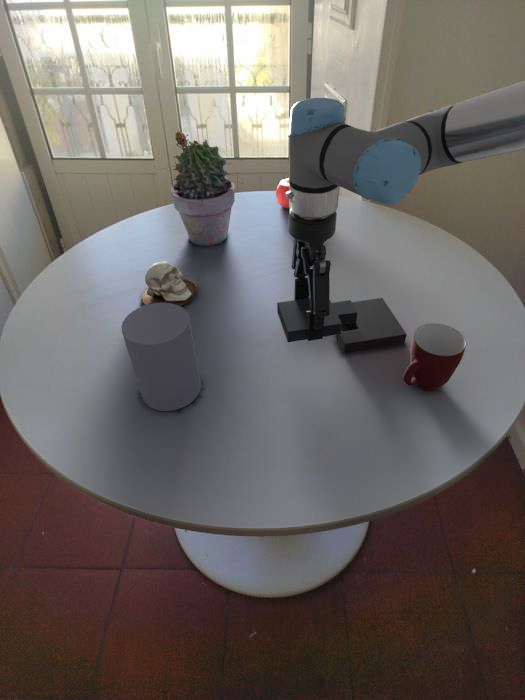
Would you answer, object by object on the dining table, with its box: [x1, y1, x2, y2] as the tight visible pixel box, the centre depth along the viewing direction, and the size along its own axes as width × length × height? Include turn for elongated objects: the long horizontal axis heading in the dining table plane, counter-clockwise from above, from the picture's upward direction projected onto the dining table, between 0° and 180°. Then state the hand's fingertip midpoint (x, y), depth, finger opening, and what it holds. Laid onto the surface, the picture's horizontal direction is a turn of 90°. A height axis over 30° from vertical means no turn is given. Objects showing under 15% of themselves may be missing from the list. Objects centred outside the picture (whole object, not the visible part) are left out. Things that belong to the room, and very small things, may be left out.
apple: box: [275, 178, 290, 209], centre depth 132 cm, size 8×8×8 cm
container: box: [121, 303, 202, 412], centre depth 77 cm, size 10×10×15 cm
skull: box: [141, 261, 198, 307], centre depth 102 cm, size 12×10×10 cm
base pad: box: [337, 297, 407, 355], centre depth 91 cm, size 12×12×2 cm
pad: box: [276, 298, 357, 343], centre depth 88 cm, size 9×14×2 cm, turn 101°
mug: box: [402, 323, 467, 392], centre depth 77 cm, size 10×8×10 cm
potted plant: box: [159, 130, 244, 247], centre depth 114 cm, size 18×20×25 cm
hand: (307, 322), depth 88 cm, fingers closed on pad, 9 cm apart
